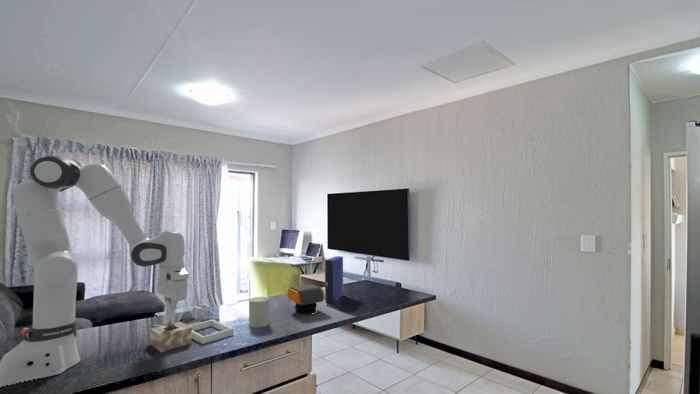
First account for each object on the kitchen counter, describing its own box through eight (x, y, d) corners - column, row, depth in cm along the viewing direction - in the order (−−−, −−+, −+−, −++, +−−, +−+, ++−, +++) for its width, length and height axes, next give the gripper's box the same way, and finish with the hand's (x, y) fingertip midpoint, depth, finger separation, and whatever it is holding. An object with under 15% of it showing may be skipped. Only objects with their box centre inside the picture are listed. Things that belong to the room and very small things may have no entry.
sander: (303, 302, 194) (303, 279, 195) (325, 312, 173) (325, 287, 174) (279, 306, 186) (279, 283, 186) (299, 318, 165) (299, 291, 166)
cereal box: (336, 295, 210) (335, 256, 211) (343, 295, 209) (342, 256, 210) (325, 302, 194) (324, 260, 195) (332, 302, 192) (332, 260, 193)
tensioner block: (160, 354, 124) (161, 335, 124) (150, 347, 131) (150, 328, 132) (191, 345, 132) (191, 327, 132) (179, 338, 140) (180, 321, 140)
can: (266, 327, 152) (266, 300, 153) (246, 327, 152) (246, 300, 153) (271, 321, 161) (271, 295, 162) (251, 321, 161) (252, 295, 162)
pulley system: (154, 325, 160) (153, 333, 147) (154, 314, 161) (154, 321, 148) (216, 317, 173) (220, 324, 160) (216, 308, 174) (220, 314, 161)
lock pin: (167, 335, 130) (168, 298, 130) (164, 333, 132) (165, 297, 132) (176, 333, 132) (176, 297, 133) (172, 331, 134) (173, 295, 135)
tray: (202, 346, 131) (202, 337, 132) (183, 335, 143) (183, 327, 144) (233, 336, 141) (233, 328, 141) (212, 327, 153) (212, 319, 153)
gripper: (153, 270, 137) (152, 305, 137) (173, 277, 124) (172, 315, 123) (169, 268, 142) (168, 302, 141) (190, 274, 129) (190, 311, 128)
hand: (170, 308), depth 132 cm, fingers closed on lock pin, 3 cm apart
